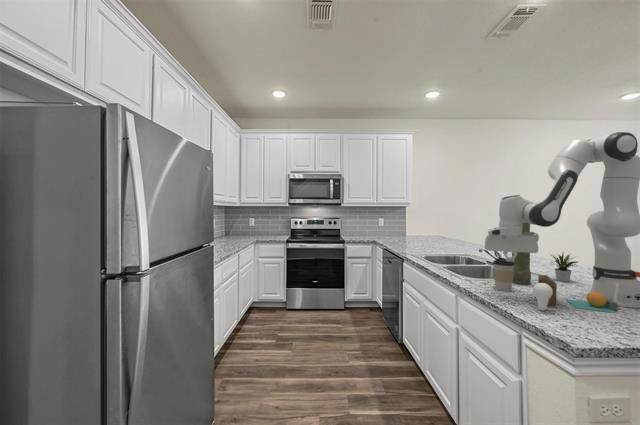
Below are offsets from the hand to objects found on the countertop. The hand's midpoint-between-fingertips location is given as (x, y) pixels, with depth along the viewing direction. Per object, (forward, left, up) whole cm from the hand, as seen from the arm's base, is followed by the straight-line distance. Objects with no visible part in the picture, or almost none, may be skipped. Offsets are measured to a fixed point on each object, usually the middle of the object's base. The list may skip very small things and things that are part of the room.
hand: (510, 261), depth 130 cm
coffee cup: (+1, -13, -16) cm, 21 cm away
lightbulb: (-9, +15, -16) cm, 24 cm away
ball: (-30, 0, -13) cm, 33 cm away
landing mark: (-28, 0, -16) cm, 32 cm away
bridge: (-14, 0, -16) cm, 21 cm away
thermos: (-9, -30, -16) cm, 35 cm away
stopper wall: (-34, 0, -16) cm, 38 cm away
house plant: (-29, -43, -16) cm, 54 cm away
